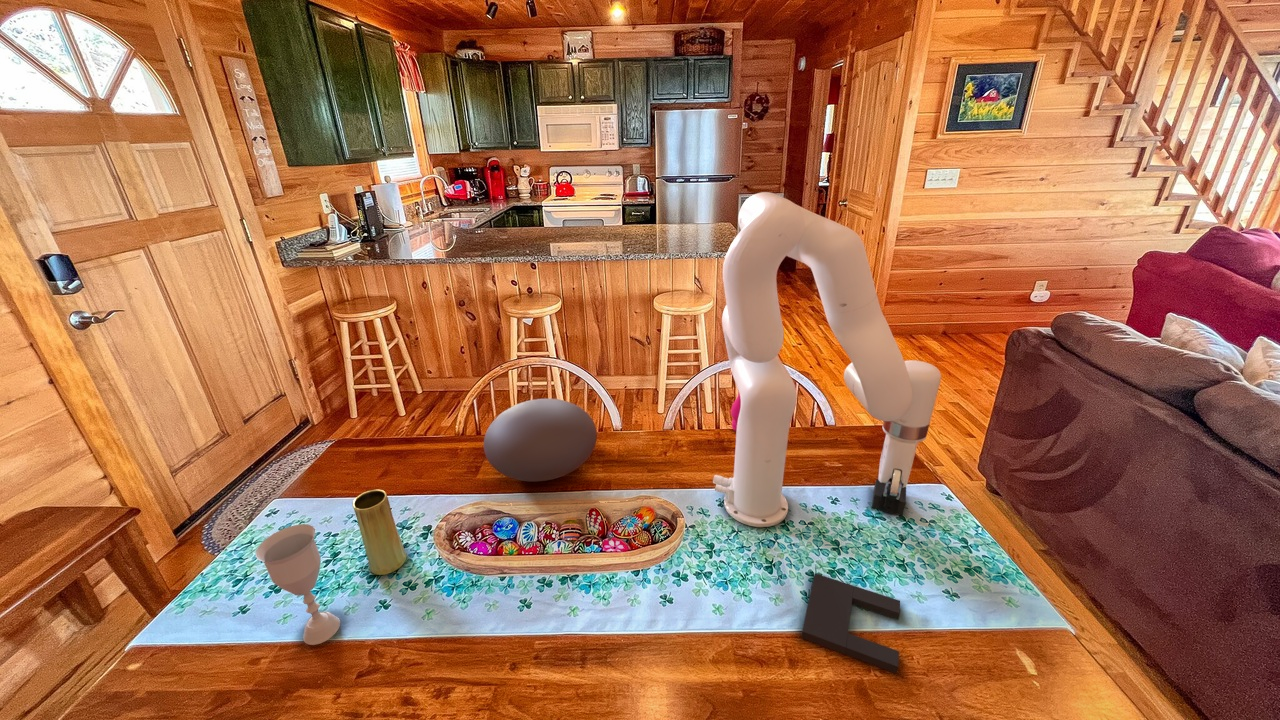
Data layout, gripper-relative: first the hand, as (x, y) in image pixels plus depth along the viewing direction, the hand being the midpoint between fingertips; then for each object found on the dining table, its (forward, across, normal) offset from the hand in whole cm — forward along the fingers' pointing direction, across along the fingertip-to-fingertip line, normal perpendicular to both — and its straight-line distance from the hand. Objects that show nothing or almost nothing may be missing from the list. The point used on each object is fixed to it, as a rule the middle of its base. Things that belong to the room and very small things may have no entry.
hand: (888, 500), depth 103 cm
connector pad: (0, 0, 0) cm, 0 cm away
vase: (+1, +54, -80) cm, 97 cm away
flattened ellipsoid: (+1, +18, -71) cm, 74 cm away
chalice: (+1, +68, -78) cm, 103 cm away
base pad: (0, +32, -4) cm, 32 cm away
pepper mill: (+1, -16, -34) cm, 38 cm away
